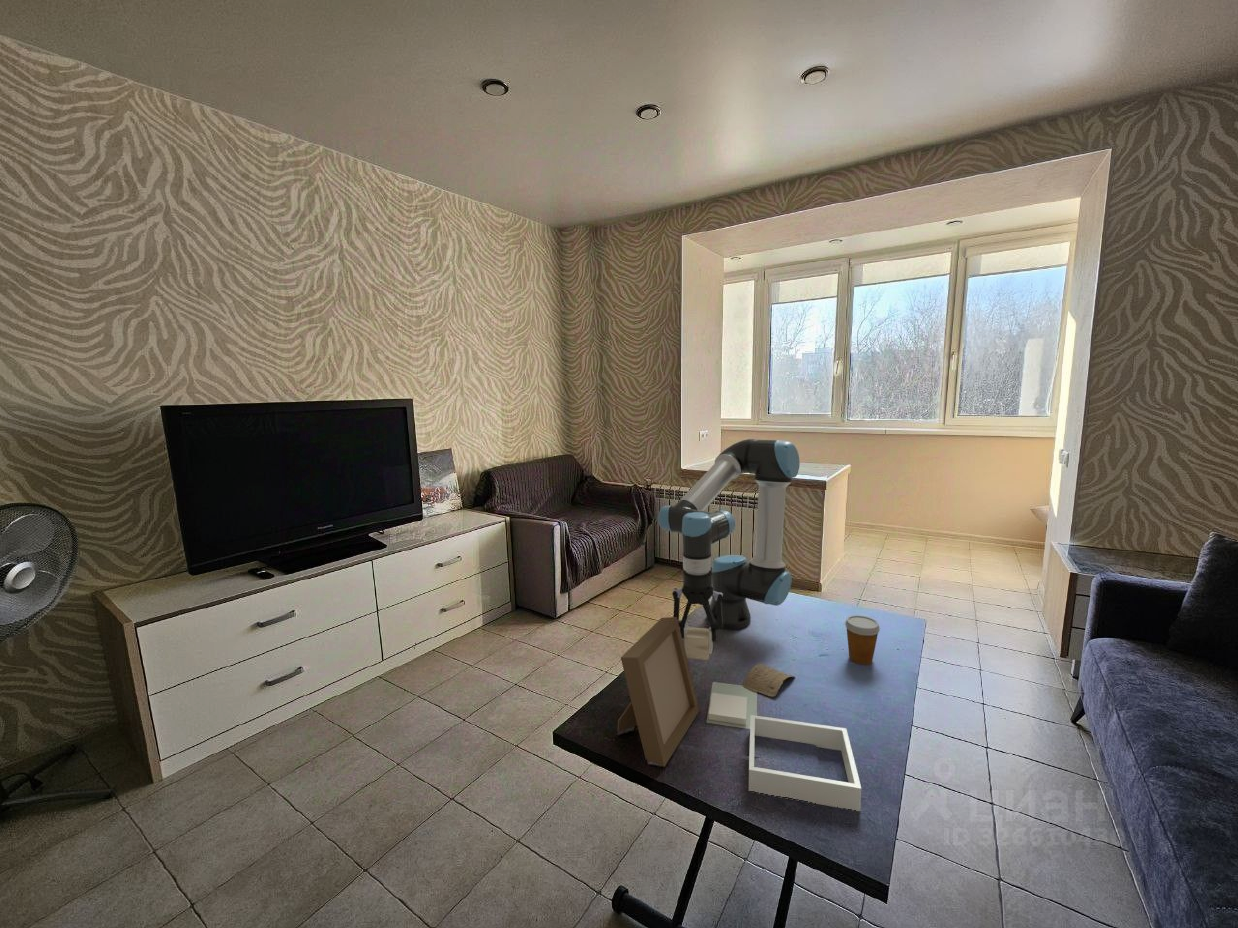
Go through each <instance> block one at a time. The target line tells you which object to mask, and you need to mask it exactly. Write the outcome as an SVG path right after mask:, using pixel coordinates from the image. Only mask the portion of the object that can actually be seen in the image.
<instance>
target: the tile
mask: <svg viewBox="0 0 1238 928" xmlns="http://www.w3.org/2000/svg"><path fill="white" fill-rule="evenodd" d="M710 696H711V695H710ZM709 703H710V702H709ZM708 709H709V708H708ZM746 718H747V697H741V696H734V695H726V694H719V693H712V696H711V703H710V709H709V720H715V721H722V722H729V723H736V724H743V725H746Z"/></svg>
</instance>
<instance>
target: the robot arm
mask: <svg viewBox="0 0 1238 928" xmlns="http://www.w3.org/2000/svg"><path fill="white" fill-rule="evenodd" d="M800 464H801V463H800V455H799V452H798V449H797V447H796V445H795V444H794V443H793V442H791V441H789V440H788V441H787V440H780V439H776V440H773V439H753V438H748V439H743V440H740V441H737V442H735V443H733V444H732V445H730V446H729V447H727V448H725V449H724V450H723V451H721V453H719V454H718V455H717V456H716V457H715V460H714V463H713V465H712V466H711V467H710V468H709V469H708V470H707V471H706V472H705V473H704V474H703V476H702V477H701V478H700V479H699V480H698V481H696V483H695V484H694V485H693V486H692V487H691V488H690V489H689V490H688V491H687V492H686V493H684V495H683V496H682V497H681V499H679V500H678V502H677V503H676V504H675V505H664V506H662V507H661V508H660V510H659V511H658V515H657V522H658V526H659V527H660V528H661V529H662V530H664V531H668V532H671V533H677V534H682V536H681V537H682V568H683V571H682V572H683V573H682V578H683V581H682V582H683V583H682V584H683V585H682V588H679V589H678V588H674V589H673V591H672V594H671V595H672V598H673V616H672V617H677V619H678V623H679V628H680V632H681V636H682V640H683V644H684V648H685V652H686V634H687V631H688V628H689V625H688V624H686V622H687V619H688V616H689V613H690V610H691V608H692V607H691V606H692V605H700V606H702V608H703V609H704V612H705V615H706V620H707V622H708V624H709V628H708V629H709V655H712V654H713V650H714V649H713V648H714V647H713V646H714V643H715V642H716V641H717V631H718V630H722V629H724V630H731V631H733V630H741V629H745V628H747V627H749V626H750V624H751V619H752V617H751V616H752V615H751V612H750V610H749V607H748V603H747V599H748V600H752V601H755V602H758V603H762V604H765V605H771V606H776V607H777V606H781V605H782V604H783V603H784V602H785V601H786V600H787V598H788V596H789V593H790V590H791V588H792V587H791V586H792V580H793V579H792V574H791V573H790V572H789V571H786V567H787V566H786V563H785V562H784V560H782V554H783V553H782V552H783V551H782V550H783V541H784V540H783V537H784V525H785V523H784V522H785V510H786V509H785V508H786V507H785V506H786V496H787V495H786V491H787V487H788V486H789V485H790V484H791V483H792V479H793V478H796V477H797V475H798V474H799V470H800ZM742 474H749V475H750V474H751V475H754V481H755V482H756V484H757V485H758V496H757V507H756V508H757V509H756V510H757V511H756V525H755V528H756V529H755V542H754V556H753V557H751V559H749V563H748V560H747V558H746V557H745V556H744V555H740V554H728V555H727V554H726V555H721V556H718V557H716V558H715V559H714V560H713V561H712V545H713V544H715V543H716V542H719V541H721V540H724V539H726V538H728V536H730V535H731V534H733V532H734V531H735V529H736V520H735V517H734V516H733V515H732V513H730V512H729V511H727V510H723V509H721V510H715V511H714V512H712V511H705V510H706V509H707V507H709V505H710V504H712V503H713V501H714V500H715V499H716V497H718V496H719V494H721V492H722V491H723V490H724V488H725V487H726V486H727V485H728V484H729V483H730V482H731V481H732V480H735V479H737V478H738V477H739V476H740V475H742ZM682 594H683V596H684V597H685V598H686V600H687V603H686V606H685V608H684V611H683V615H682V617H681V619H680V602H681V600H680V599H681V597H682ZM710 599H711V600H710ZM709 600H710V601H709ZM713 642H714V643H713Z"/></svg>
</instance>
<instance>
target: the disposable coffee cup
mask: <svg viewBox="0 0 1238 928" xmlns="http://www.w3.org/2000/svg"><path fill="white" fill-rule="evenodd" d="M844 626H845V628H846V637H847V645H848V646H847V647H848V648H847V649H848V656H849V657H848V658H849V660H850V661H852V662H854V663H855V664H859V665H864V666H865V665H870V664H872V663H873V660H874V655H875V651H876V650H875V649H876V645H877V641H878V640H877V639H878V634H879V633H880V631H881V627H880V625H879V622H878V621H877V620H876V619H874V618H872V617H868V616H865V615H858V614H857V615H850V616H848V617H847V618H846V620H845V622H844Z"/></svg>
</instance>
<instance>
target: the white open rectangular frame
mask: <svg viewBox="0 0 1238 928" xmlns="http://www.w3.org/2000/svg"><path fill="white" fill-rule="evenodd" d="M755 736H756V737H763V738H770V739H774V740H775V739H776V740H784V741H789V742H795V743H796V742H797V743H803V744H808V745H815V748H820V749H821V748H822V749H828V750H834V751H840V752H841V755H842V761H843V764H844V768H845V769H844V770H845V773H846V778H847V781H848V782H847V781H839V780H836V779H835V780H834V779H828V778H823V777H817V776H812V775H811V776H810V775H804V774H798V773H795V772H794V773H793V772H787V771H782V770H774V769H769V768H762V767H757V766H755ZM748 753H749V756H748V757H749V758H748V792H749V791H755V792H759V793H758V794H760V793H764V794H763V795H765V794H768V795H767V796H771V795H774V796H773V797H776V796H781V797H780V798H782V797H789V798H793V799H799V800H804V801H808V802H807V803H810V802H812V803H811V804H815V803H816V805H822V806H827V807H832V808H837V807H838V809H843V808H846V809H845V810H848V809H852V810H851V811H854V810H856V812H859V811H860V812H861V806H862V805H861V804H862V786H861V782H860V781H861V780H860V777H859V774H858V773H859V772H858V770H857V769H858V768H857V766H856V761H855V757H854V754H853V753H854V752H853V750H852V746H851V742H850V737H849V733H848V730H847V727H846V728H845V727H841V726H840V727H839V726H832V725H824V724H817V723H810V722H803V721H797V720H790V719H784V718H783V719H782V718H775V717H768V716H761V715H757V716H755V715H751V716H750V729H749V751H748ZM793 799H792V800H793ZM799 800H798V801H799ZM804 801H803V802H804Z"/></svg>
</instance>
